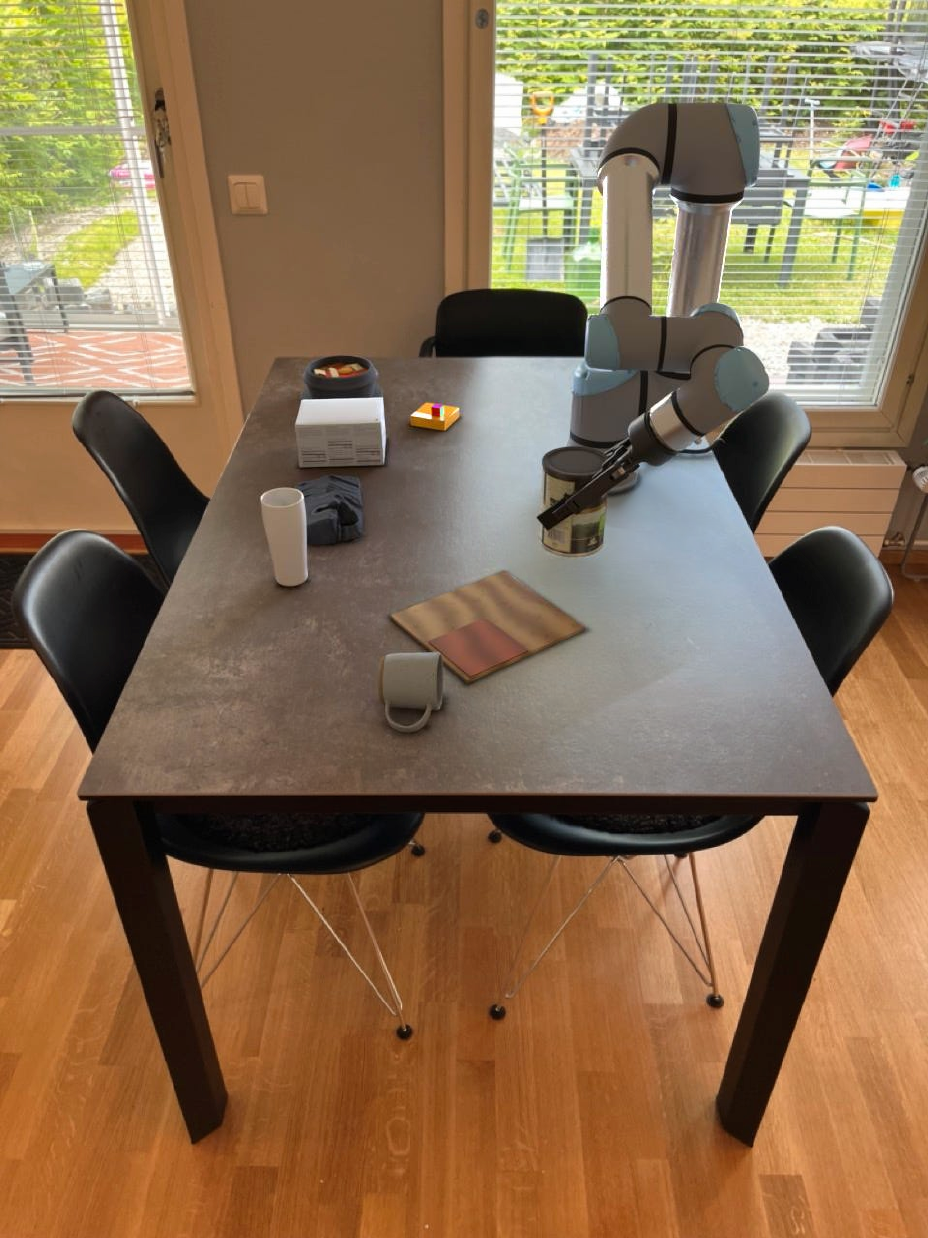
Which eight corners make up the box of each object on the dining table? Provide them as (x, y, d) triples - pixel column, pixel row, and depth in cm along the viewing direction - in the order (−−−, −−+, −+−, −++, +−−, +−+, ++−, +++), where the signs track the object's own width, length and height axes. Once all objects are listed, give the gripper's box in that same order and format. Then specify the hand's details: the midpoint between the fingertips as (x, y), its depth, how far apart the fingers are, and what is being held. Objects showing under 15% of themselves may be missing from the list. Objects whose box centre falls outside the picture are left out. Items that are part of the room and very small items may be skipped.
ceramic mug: (386, 683, 136) (383, 639, 131) (444, 685, 135) (443, 641, 131) (374, 734, 127) (371, 689, 123) (437, 737, 126) (435, 692, 122)
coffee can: (606, 528, 157) (613, 448, 148) (600, 561, 148) (608, 478, 140) (543, 522, 158) (546, 442, 150) (534, 554, 150) (537, 472, 142)
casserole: (381, 423, 210) (379, 386, 205) (295, 425, 209) (291, 388, 204) (385, 380, 230) (383, 346, 225) (306, 382, 230) (303, 347, 225)
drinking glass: (320, 572, 160) (311, 490, 151) (301, 593, 155) (291, 510, 146) (283, 565, 162) (272, 484, 153) (263, 586, 156) (251, 503, 148)
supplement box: (386, 438, 203) (384, 396, 198) (384, 466, 192) (381, 422, 187) (305, 440, 203) (300, 397, 197) (298, 468, 192) (293, 423, 186)
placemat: (503, 573, 159) (504, 569, 159) (585, 630, 146) (585, 625, 145) (390, 618, 149) (390, 614, 148) (467, 684, 135) (467, 679, 135)
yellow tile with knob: (410, 425, 209) (409, 406, 206) (426, 411, 215) (425, 393, 212) (444, 431, 206) (444, 412, 204) (459, 417, 212) (459, 398, 210)
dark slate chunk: (372, 486, 185) (370, 464, 182) (361, 545, 167) (359, 521, 164) (292, 486, 185) (289, 464, 182) (272, 545, 167) (269, 521, 164)
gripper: (660, 485, 129) (544, 560, 143) (699, 420, 146) (592, 494, 160) (625, 441, 128) (512, 522, 142) (669, 381, 145) (563, 459, 159)
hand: (554, 507), depth 151 cm, fingers closed on coffee can, 10 cm apart
